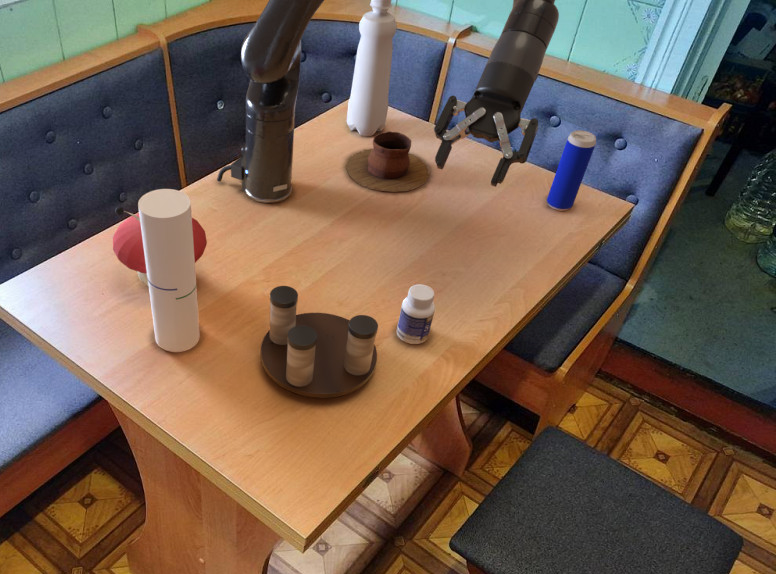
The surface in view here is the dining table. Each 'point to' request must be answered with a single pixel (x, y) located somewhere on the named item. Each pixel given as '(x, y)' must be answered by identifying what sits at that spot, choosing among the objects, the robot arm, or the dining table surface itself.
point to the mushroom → (131, 243)
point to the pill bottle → (416, 314)
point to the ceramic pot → (388, 165)
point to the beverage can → (571, 170)
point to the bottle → (372, 70)
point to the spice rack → (317, 348)
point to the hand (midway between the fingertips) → (466, 176)
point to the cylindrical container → (170, 267)
